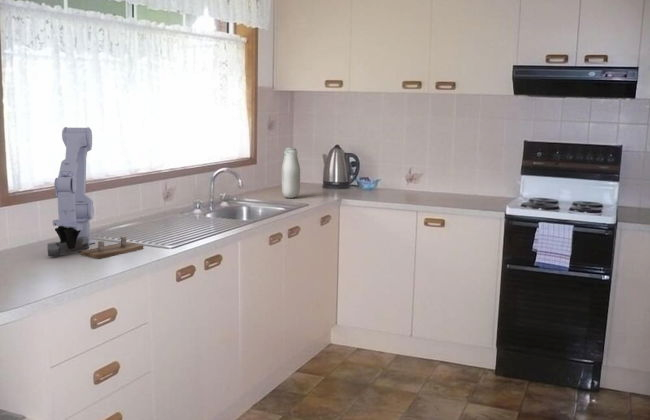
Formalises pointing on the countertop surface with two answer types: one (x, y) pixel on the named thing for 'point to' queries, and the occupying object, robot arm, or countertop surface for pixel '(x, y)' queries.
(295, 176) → the glass bottle
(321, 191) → the countertop surface
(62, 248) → the dark grey bar
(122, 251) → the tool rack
